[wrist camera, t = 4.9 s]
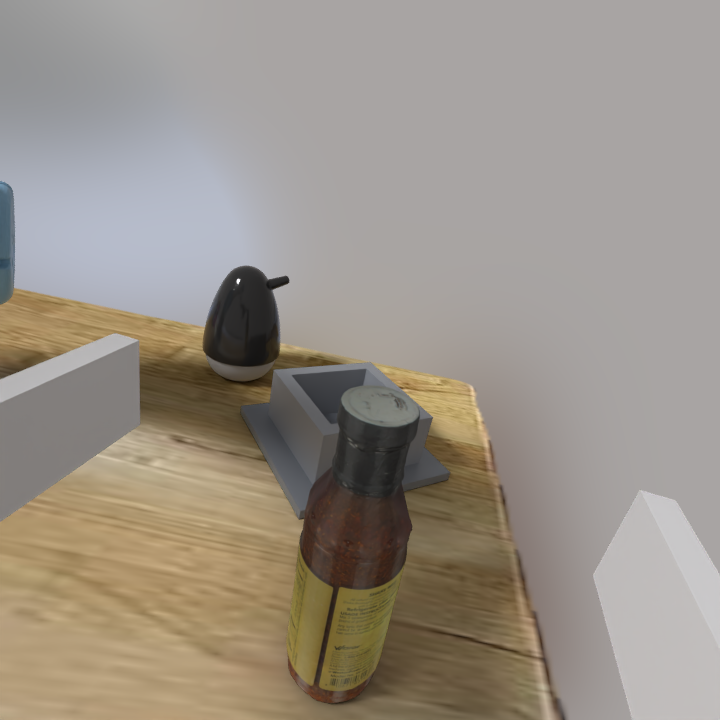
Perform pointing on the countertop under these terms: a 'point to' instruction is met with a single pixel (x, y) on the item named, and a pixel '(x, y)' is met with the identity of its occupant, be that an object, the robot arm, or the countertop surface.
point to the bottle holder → (323, 428)
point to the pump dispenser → (243, 325)
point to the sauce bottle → (352, 547)
